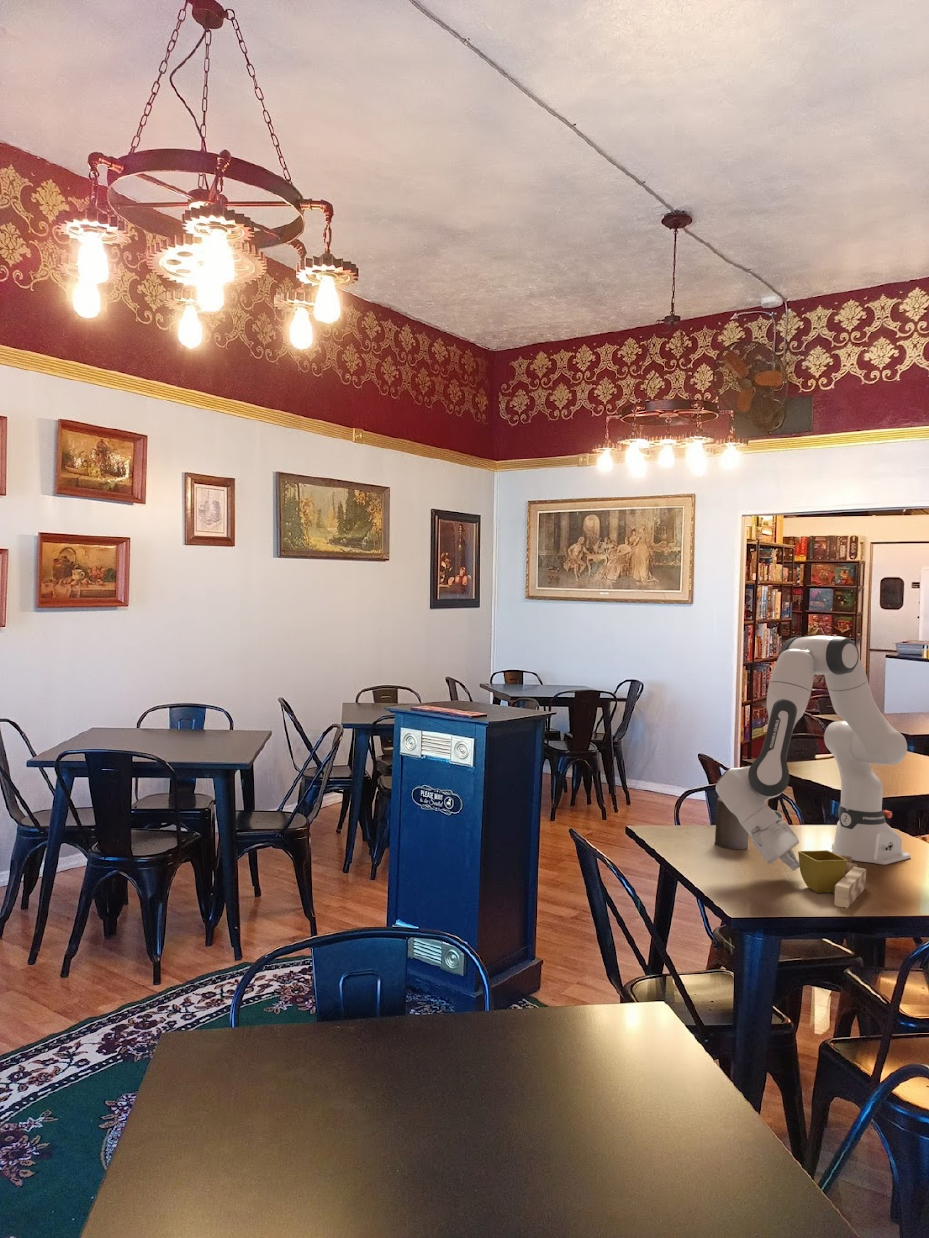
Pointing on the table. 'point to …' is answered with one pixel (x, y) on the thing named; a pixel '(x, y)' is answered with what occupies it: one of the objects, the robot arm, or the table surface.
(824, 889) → the flower pot
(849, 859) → the roller
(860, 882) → the rail
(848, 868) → the roller
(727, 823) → the pillar candle
